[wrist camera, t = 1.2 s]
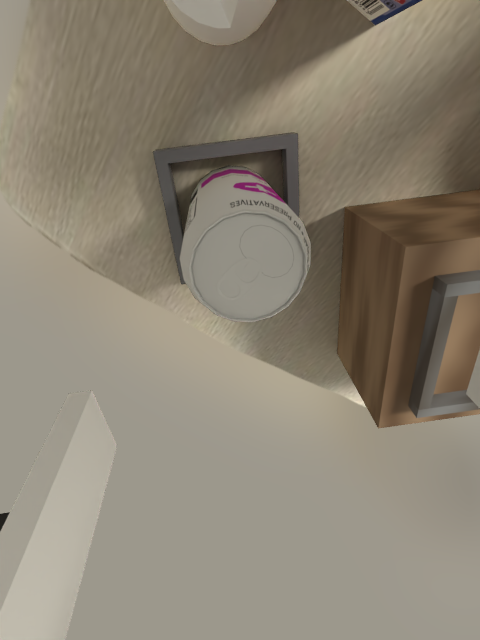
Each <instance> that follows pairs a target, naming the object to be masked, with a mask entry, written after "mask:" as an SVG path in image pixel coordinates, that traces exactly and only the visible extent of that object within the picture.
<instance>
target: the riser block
mask: <svg viewBox="0 0 480 640" xmlns="http://www.w3.org/2000/svg"><path fill="white" fill-rule="evenodd" d="M479 350H480V190H473V191H465V192H458V193H450V194H442V195H434V196H427V197H419V198H411V199H403V200H396V201H388V202H380V203H373V204H365V205H357V206H349V207H345V213H344V233H343V252H342V271H341V291H340V310H339V329H338V348H337V354H338V356H339V358H340V360H341V361H342V363H343V365H344V367H345V369H346V370H347V372H348V374H349V376H350V378H351V379H352V381H353V383H354V385H355V387H356V389H357V390H358V392H359V394H360V396H361V398H362V399H363V401H364V403H365V405H366V407H367V409H368V410H369V412H370V414H371V416H372V418H373V419H374V421H375V423H376V425H377V427H378V428H384V427H391V426H398V425H405V424H412V423H419V422H427V421H434V420H440V419H448V418H455V417H462V416H469V415H476V414H480V408H479V407H478V406H477V405H476V404H475V403H474V402H473V401H472V400H471V399H470V398H469V397H468V395H467V394H466V392H467V389H468V386H469V382H470V379H471V376H472V373H473V369H474V366H475V363H476V360H477V356H478V353H479Z"/></svg>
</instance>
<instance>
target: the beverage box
mask: <svg viewBox="0 0 480 640" xmlns="http://www.w3.org/2000/svg"><path fill="white" fill-rule="evenodd" d="M347 1H348V2H349V3H350V4H351V5H352V6H354V7H355V8H356V9H357V10H358V11H359V12H360V13H362V14H363V15H364V16H365V17H366V18H367V19H368V20H370V21H371V22H372V23H373V24H374V25H377V24H379V23H381V22H383V21H385V20H386V19H388V18H390V17H392V16H394V15H396V14H398V13H399V12H401V11H403V10H405V9H407V8H409V7H411V6H412V5H414V4H416V3H418V2H420V1H422V0H347Z"/></svg>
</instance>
